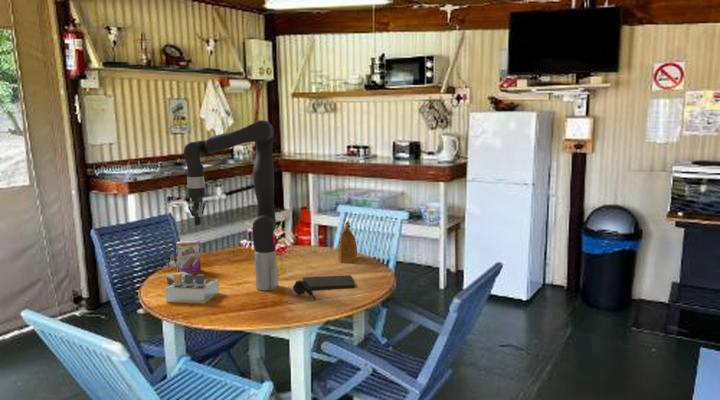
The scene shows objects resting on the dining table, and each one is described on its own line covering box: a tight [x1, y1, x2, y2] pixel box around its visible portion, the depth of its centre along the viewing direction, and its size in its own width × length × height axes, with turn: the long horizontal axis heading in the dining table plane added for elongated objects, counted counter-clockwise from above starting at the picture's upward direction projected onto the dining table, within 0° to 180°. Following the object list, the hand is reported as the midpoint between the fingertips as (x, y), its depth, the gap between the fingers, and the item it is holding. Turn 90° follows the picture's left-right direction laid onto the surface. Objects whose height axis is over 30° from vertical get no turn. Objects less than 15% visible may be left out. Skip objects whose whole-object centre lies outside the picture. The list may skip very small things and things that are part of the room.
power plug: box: [292, 279, 317, 301], centre depth 233 cm, size 6×8×12 cm
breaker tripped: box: [171, 272, 184, 286], centre depth 231 cm, size 3×4×4 cm
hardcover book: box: [302, 275, 356, 291], centre depth 251 cm, size 16×23×2 cm
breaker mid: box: [184, 273, 195, 286], centre depth 230 cm, size 3×4×4 cm
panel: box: [164, 278, 220, 305], centre depth 234 cm, size 17×15×6 cm
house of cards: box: [165, 253, 177, 269], centre depth 284 cm, size 9×9×8 cm
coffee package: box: [337, 221, 358, 264], centre depth 288 cm, size 10×12×22 cm
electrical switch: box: [164, 272, 189, 285], centre depth 256 cm, size 9×5×9 cm
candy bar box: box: [175, 239, 202, 274], centre depth 271 cm, size 11×5×16 cm, turn 111°
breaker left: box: [195, 273, 206, 287], centre depth 229 cm, size 3×4×4 cm
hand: (198, 224), depth 245 cm, fingers closed
